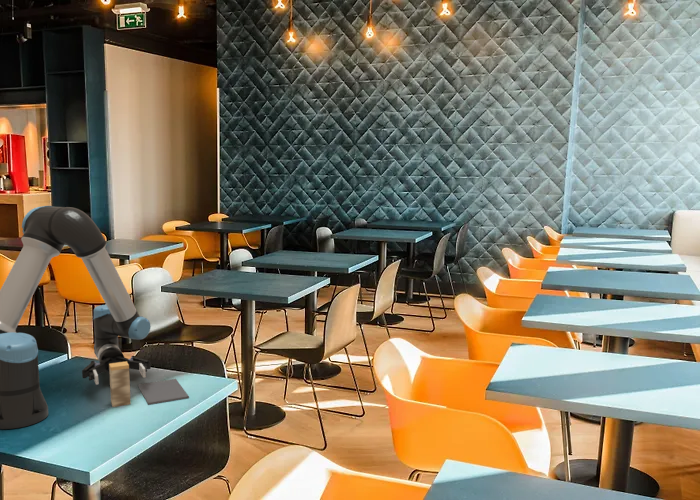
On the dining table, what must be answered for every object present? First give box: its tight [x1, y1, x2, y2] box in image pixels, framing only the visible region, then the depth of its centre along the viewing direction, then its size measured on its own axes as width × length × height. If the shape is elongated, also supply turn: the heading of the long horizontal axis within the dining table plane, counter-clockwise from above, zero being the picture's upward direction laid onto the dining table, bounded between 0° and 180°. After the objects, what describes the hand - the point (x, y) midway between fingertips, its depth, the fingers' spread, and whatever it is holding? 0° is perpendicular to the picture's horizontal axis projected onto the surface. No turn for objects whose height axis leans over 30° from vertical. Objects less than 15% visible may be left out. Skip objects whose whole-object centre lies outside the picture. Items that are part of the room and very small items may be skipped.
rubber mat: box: [137, 378, 190, 406], centre depth 198 cm, size 12×18×1 cm, turn 28°
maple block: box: [108, 361, 132, 408], centre depth 188 cm, size 5×4×12 cm
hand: (121, 376), depth 192 cm, fingers open, 13 cm apart
